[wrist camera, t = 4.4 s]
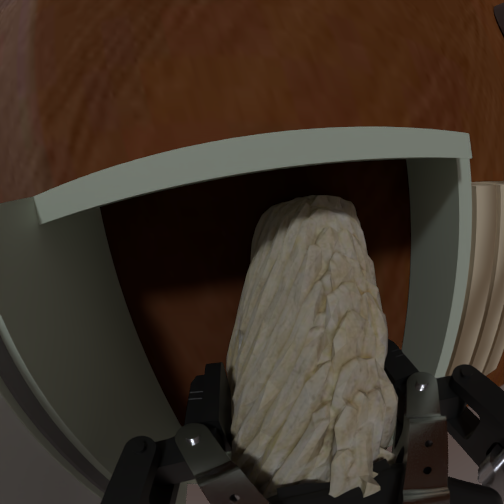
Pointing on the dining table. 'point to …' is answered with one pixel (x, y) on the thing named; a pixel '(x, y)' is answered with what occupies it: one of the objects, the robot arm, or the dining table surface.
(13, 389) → the cold frame
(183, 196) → the dining table surface
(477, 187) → the slatted stand
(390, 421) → the fossil tooth
